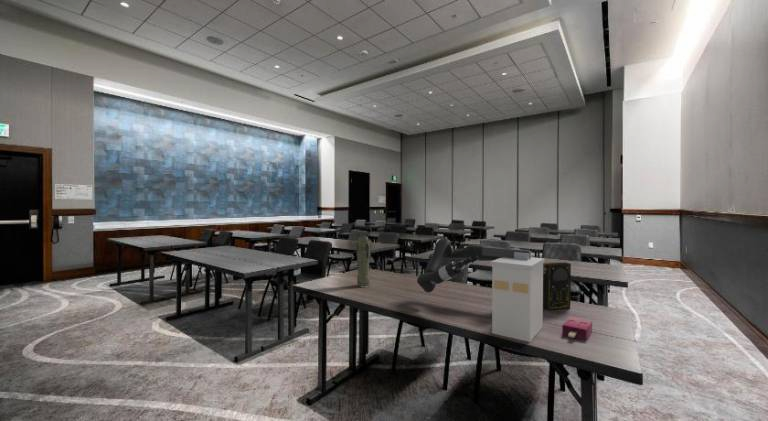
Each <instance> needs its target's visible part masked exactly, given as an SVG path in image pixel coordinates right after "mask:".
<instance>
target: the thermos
mask: <svg viewBox="0 0 768 421" xmlns="http://www.w3.org/2000/svg"><path fill="white" fill-rule="evenodd" d="M371 248H372V246H371V244H370V240H369V237H368V236H367V235H361V236H358V240H357V243H356V258H357V259H356V261H357V276H356V279H357V280H356V282H357V285H358V286H364V287H363V288H366V287H365V286H369V285H370V282H371V281H370V280H371V276H370V258H371ZM358 286H357V287H358ZM369 287H370V286H369Z"/></svg>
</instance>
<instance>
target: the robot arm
mask: <svg viewBox="0 0 768 421" xmlns="http://www.w3.org/2000/svg"><path fill="white" fill-rule="evenodd" d="M452 247H453V246H452V243H451V241H450V240H449V238H439V240H437V241H436V243H435V246H434V250H433V253H432V257H431V259H430V262H429V263H428V265H427V267H426V268H425V270H424V271H425V272H424V273H422V274H420V275H419V276H417V280H416V283H417V284H418V285H419V286H420V288H421V289H422V290H424V292H426V293H432V292H433V291H434V290H435V287H436V286H437V285H439V284H442V283H444V282H447V281H448V280H451V279H453V278H455V277H457V276H459V275H460V274H461V270H464V269H465V268H467V267H469V266H470V265H472V264H473V263H475V262H477V261H479V262H480V261H481V262H488V261H490V262H491V261H494V260H496V259H499V258H502V257H496V256H485V255H482V247H492V248H499V247H496V246H491V245H485V244H484V245H483V244H475V243H474V244H473V243H472V244H469V245H467V246H465V247H463V248H461V249H457V248H456V249H454V248H452ZM504 248H505V249H518V250H522V249H520V248H518V247H504ZM443 259H461V260H460V261H457V262H455V261H451V262H450V261H449V263H447V264H445V265H442V261H443Z"/></svg>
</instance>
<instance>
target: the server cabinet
mask: <svg viewBox="0 0 768 421" xmlns="http://www.w3.org/2000/svg"><path fill="white" fill-rule="evenodd" d="M545 261H546V260H545V258H540V257H532V256H531V259H529V260H520V259H514V258H506V257H502V258H499V259H496V260H491V261H490V267H492V270H491V271H492V272H491V273H492V274H491V275H492V276H491V277H492V278H491V281H492V284H491V287H492V288H491V295H492V296H491V305H492V308H491V313H492V314H491V334H493V335H498V336H503V337H507V338H511V339H515V340H520V341H524V342H528V343H531V342H532V341H533V340H534V338H535V337H536V336H537V334H538V333H539V332H540V331H541V330H542V328H543V325H544V324H543V323H544V322H543V319H544V318H543V317H544V312H543V311H544V310H543V309H544V307H543V263H546V262H545Z"/></svg>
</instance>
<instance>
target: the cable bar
mask: <svg viewBox="0 0 768 421" xmlns="http://www.w3.org/2000/svg"><path fill="white" fill-rule="evenodd" d="M492 247H493V246H492ZM492 247H482V255H485V256H496V257H506V258H514V259H520V260H529V259H531V257H532V252H531V250H529V249H521V250H518V249H505V248H506V247H498V248H492Z"/></svg>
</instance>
